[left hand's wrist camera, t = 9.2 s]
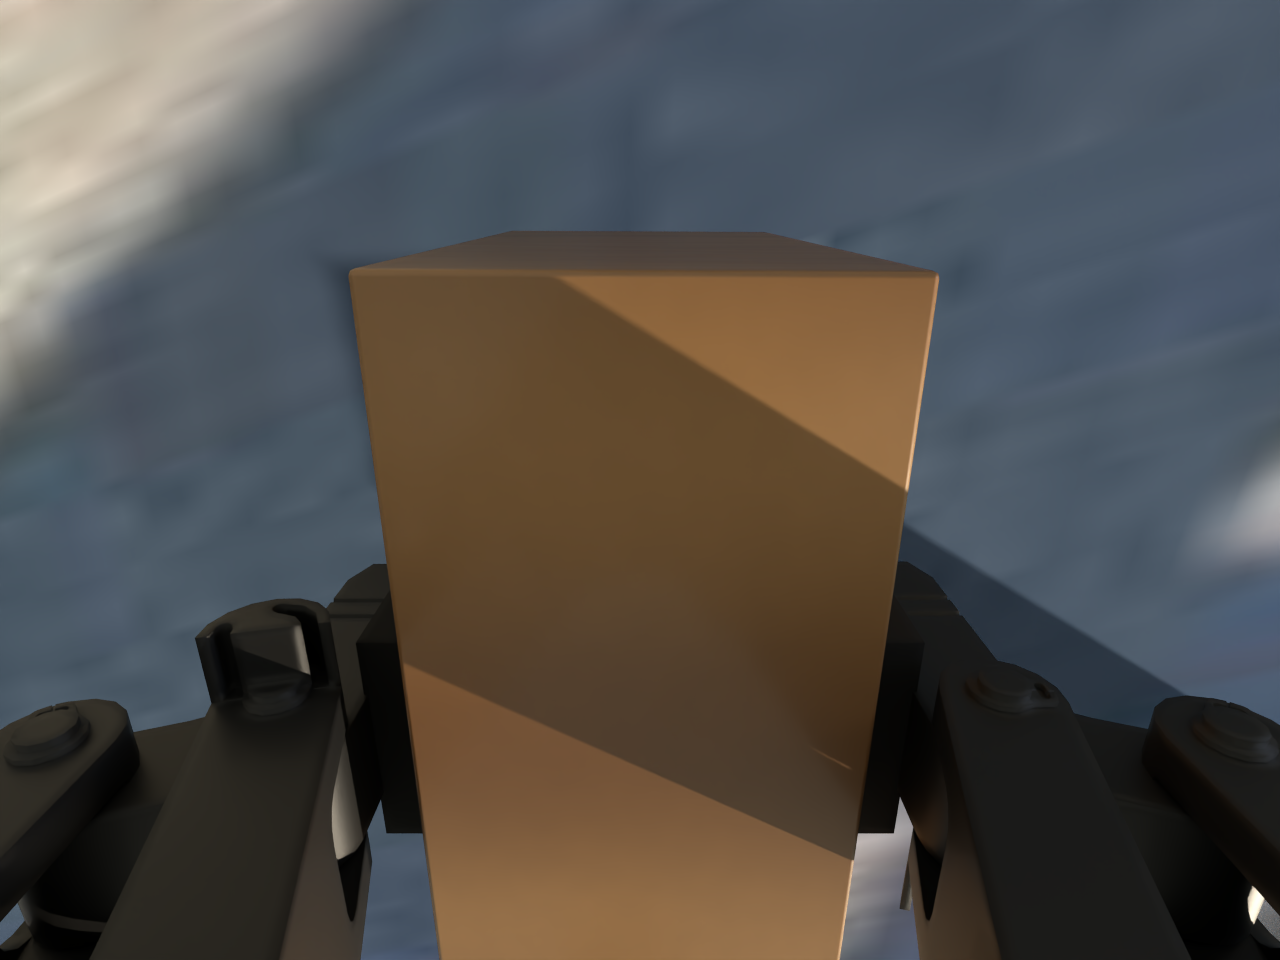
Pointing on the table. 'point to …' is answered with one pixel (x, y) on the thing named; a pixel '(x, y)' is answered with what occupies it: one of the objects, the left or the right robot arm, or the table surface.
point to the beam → (641, 577)
